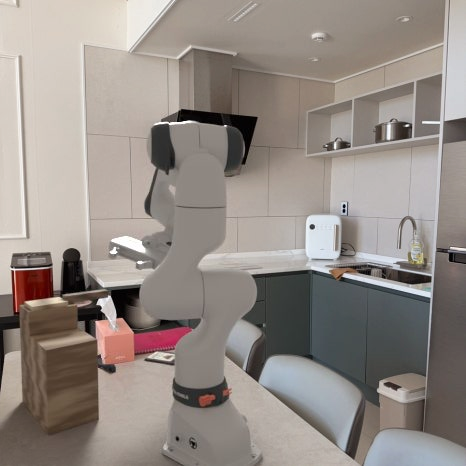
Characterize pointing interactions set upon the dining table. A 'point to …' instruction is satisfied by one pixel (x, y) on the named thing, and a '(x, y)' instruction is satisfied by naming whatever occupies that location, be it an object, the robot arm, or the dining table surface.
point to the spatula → (66, 299)
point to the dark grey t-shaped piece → (106, 365)
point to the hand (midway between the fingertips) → (123, 261)
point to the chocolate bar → (162, 357)
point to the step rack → (58, 368)
